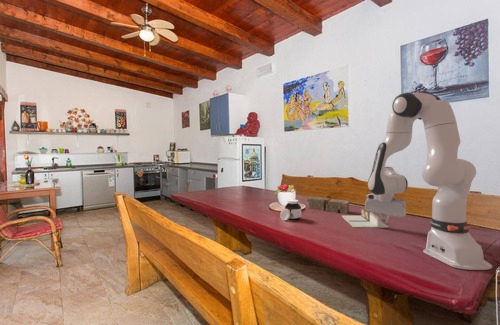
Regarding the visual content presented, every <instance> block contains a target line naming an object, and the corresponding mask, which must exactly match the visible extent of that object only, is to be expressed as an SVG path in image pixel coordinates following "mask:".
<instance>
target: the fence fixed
mask: <svg viewBox="0 0 500 325" xmlns="http://www.w3.org/2000/svg"><path fill="white" fill-rule="evenodd" d="M360 216H363V217H365V218H366V219H367V220H368V221H370V211H366V210H365V206H364V207H363V206H362V207H361V215H360Z"/></svg>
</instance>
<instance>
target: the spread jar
mask: <svg viewBox="0 0 500 325" xmlns="http://www.w3.org/2000/svg"><path fill="white" fill-rule="evenodd" d="M279 216H280V219H281V220H282V221H288V220H289V221H297V220H299V219H300V218H301V217H302V206H301V205H300V203H299V200H298V199H287V203H286V204H285V207H284V208H283V209H282V210H281V211H280V215H279Z"/></svg>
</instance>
